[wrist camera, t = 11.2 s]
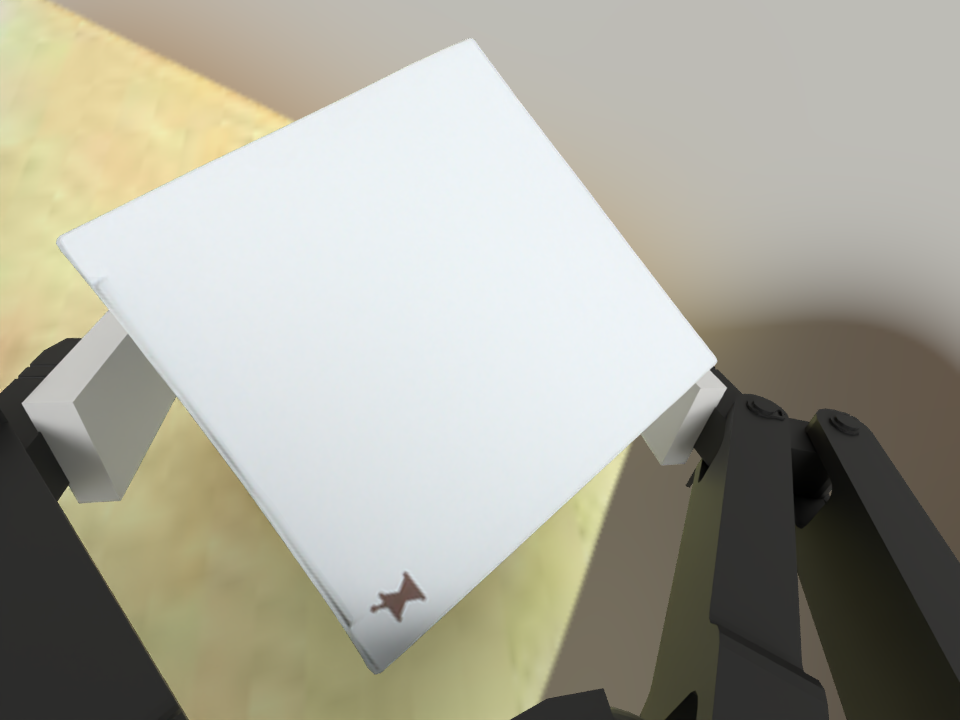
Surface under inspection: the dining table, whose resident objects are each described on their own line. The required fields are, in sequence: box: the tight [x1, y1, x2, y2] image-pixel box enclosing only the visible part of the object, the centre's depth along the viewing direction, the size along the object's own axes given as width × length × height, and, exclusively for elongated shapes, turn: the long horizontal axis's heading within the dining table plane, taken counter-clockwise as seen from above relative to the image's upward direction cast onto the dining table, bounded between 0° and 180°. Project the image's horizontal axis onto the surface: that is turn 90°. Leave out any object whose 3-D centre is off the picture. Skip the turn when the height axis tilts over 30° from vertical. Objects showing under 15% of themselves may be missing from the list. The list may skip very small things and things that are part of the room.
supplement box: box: [56, 38, 717, 674], centre depth 17 cm, size 10×9×17 cm
